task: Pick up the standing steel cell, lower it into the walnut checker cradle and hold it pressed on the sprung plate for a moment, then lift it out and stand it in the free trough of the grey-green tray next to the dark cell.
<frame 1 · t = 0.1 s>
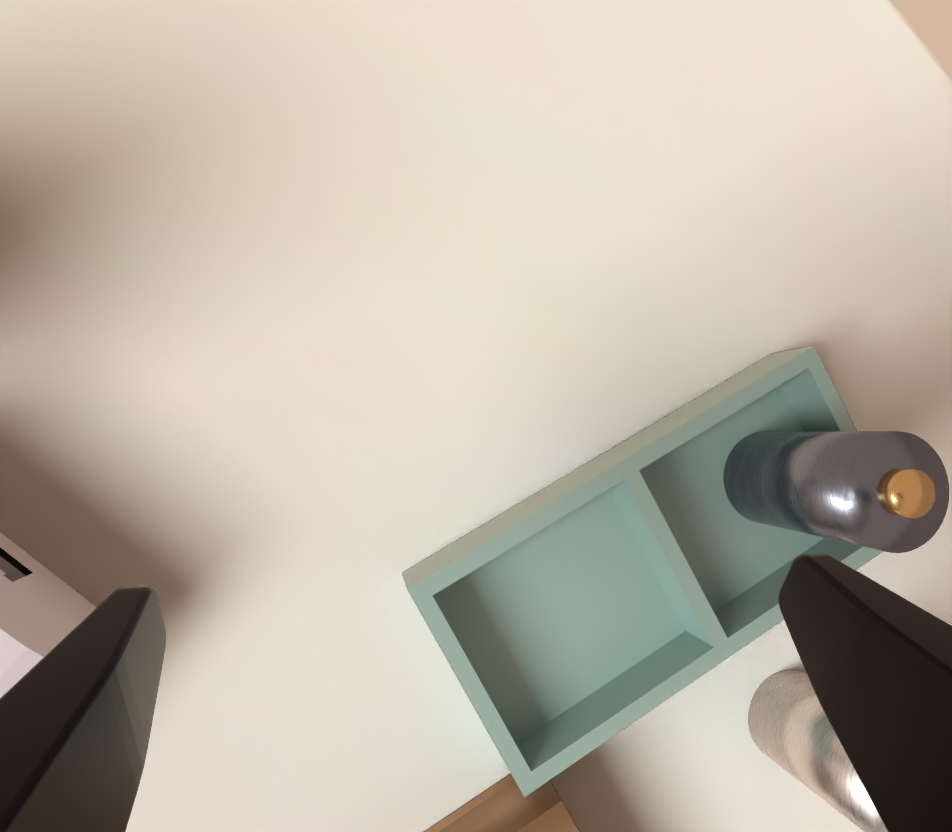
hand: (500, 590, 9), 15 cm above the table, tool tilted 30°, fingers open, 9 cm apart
dark cell: (765, 477, 26), resting on trough tray
trough tray: (645, 547, 25), on the table
steel cell: (788, 715, 26), on the table
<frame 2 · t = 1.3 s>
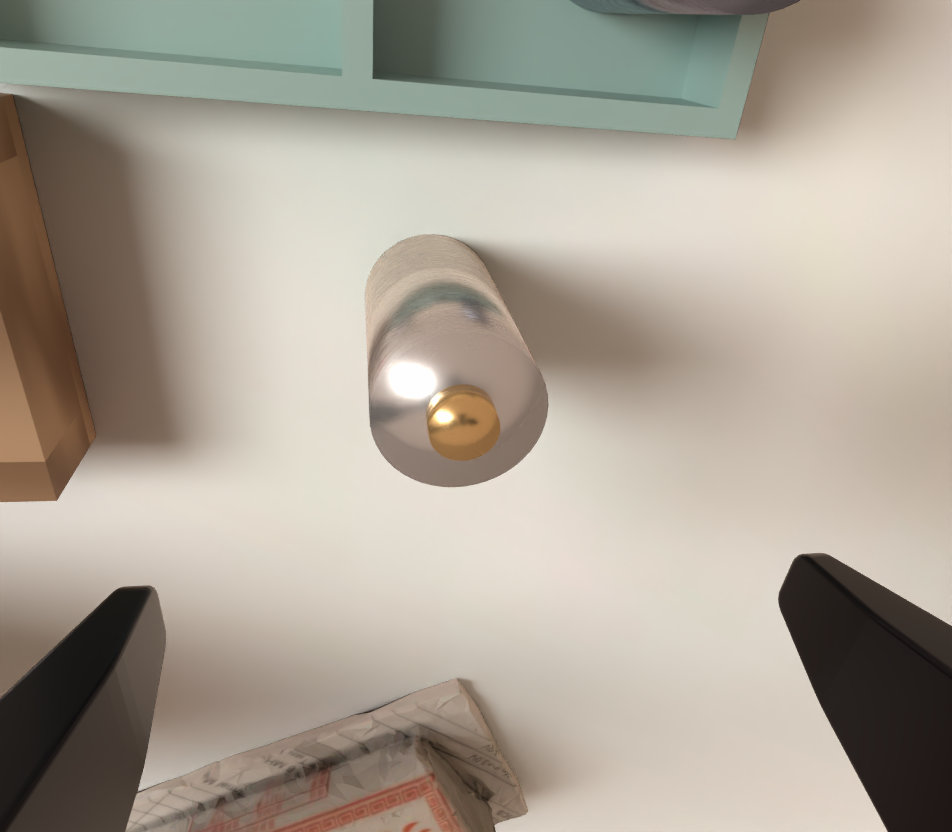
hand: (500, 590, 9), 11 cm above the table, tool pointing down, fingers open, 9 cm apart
steel cell: (429, 298, 19), on the table
packaged product: (313, 786, 31), on the table
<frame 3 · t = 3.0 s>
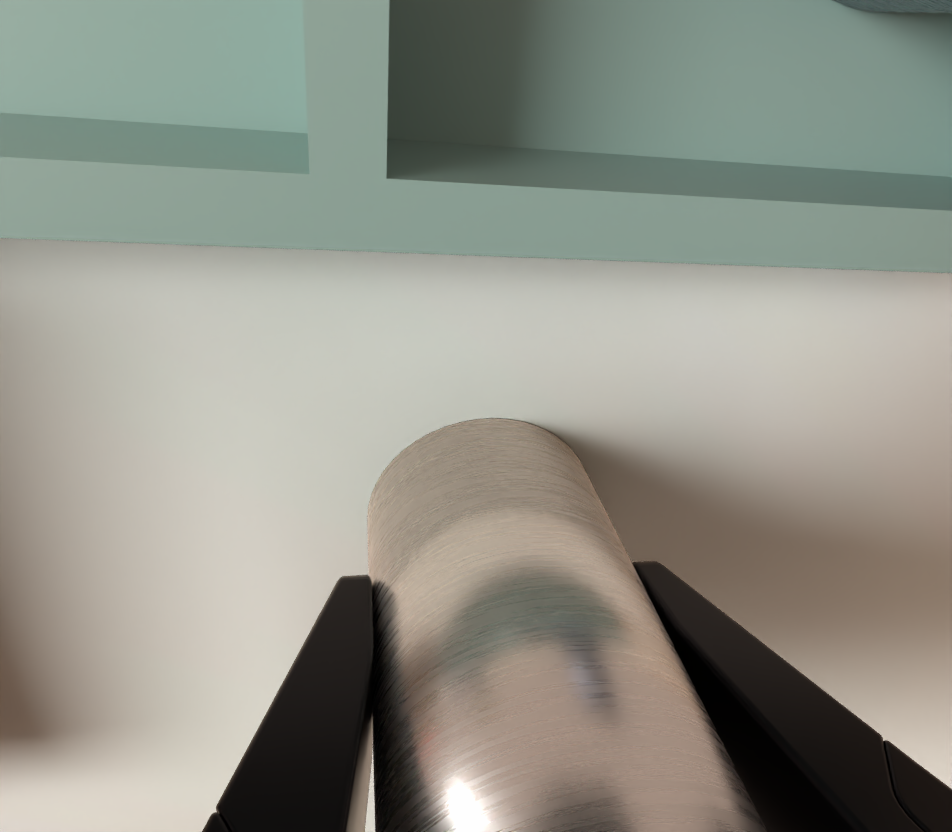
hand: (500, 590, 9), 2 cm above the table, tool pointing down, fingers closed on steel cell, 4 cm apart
steel cell: (480, 514, 11), on the table, touching gripper
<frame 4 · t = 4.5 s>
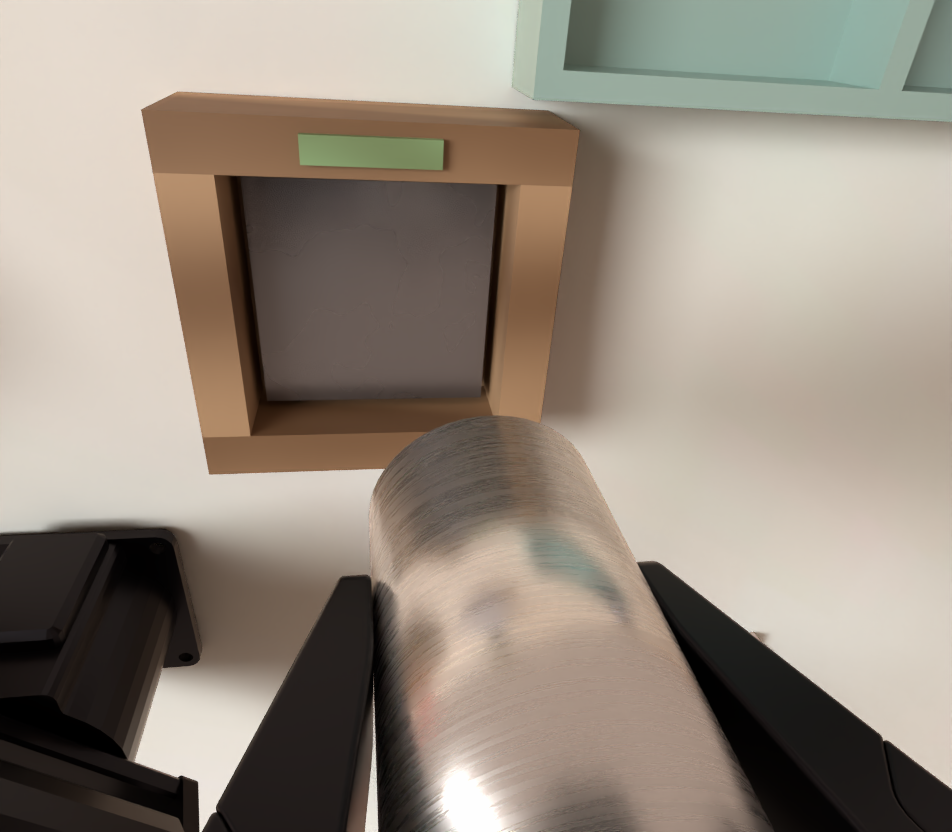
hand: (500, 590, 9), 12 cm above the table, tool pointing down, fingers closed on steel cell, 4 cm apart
checker cradle: (373, 276, 19), on the table
steel cell: (483, 511, 11), point 10 cm above the table, touching gripper
sprung plate: (374, 294, 18), point 1 cm above the table, slide at 0.0 cm
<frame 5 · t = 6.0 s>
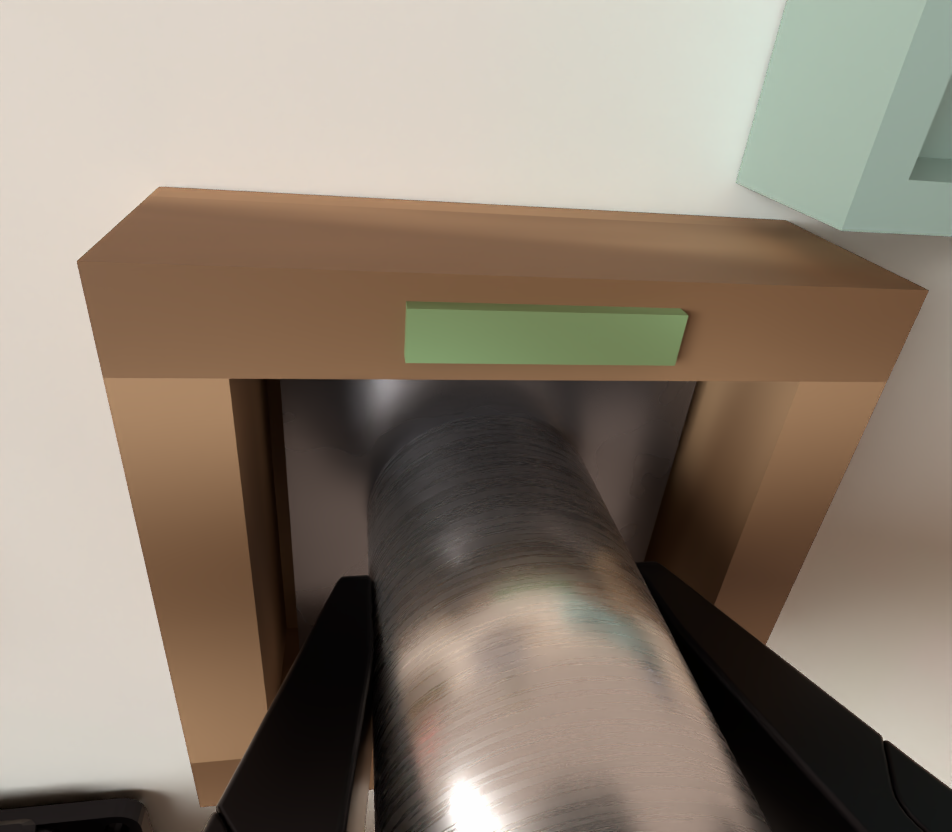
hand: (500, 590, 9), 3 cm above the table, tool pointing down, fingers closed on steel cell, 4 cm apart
checker cradle: (472, 465, 12), on the table
steel cell: (481, 511, 11), point 1 cm above the table, touching gripper, sprung plate
sprung plate: (480, 496, 11), point 1 cm above the table, slide at 0.4 cm, touching checker cradle, steel cell
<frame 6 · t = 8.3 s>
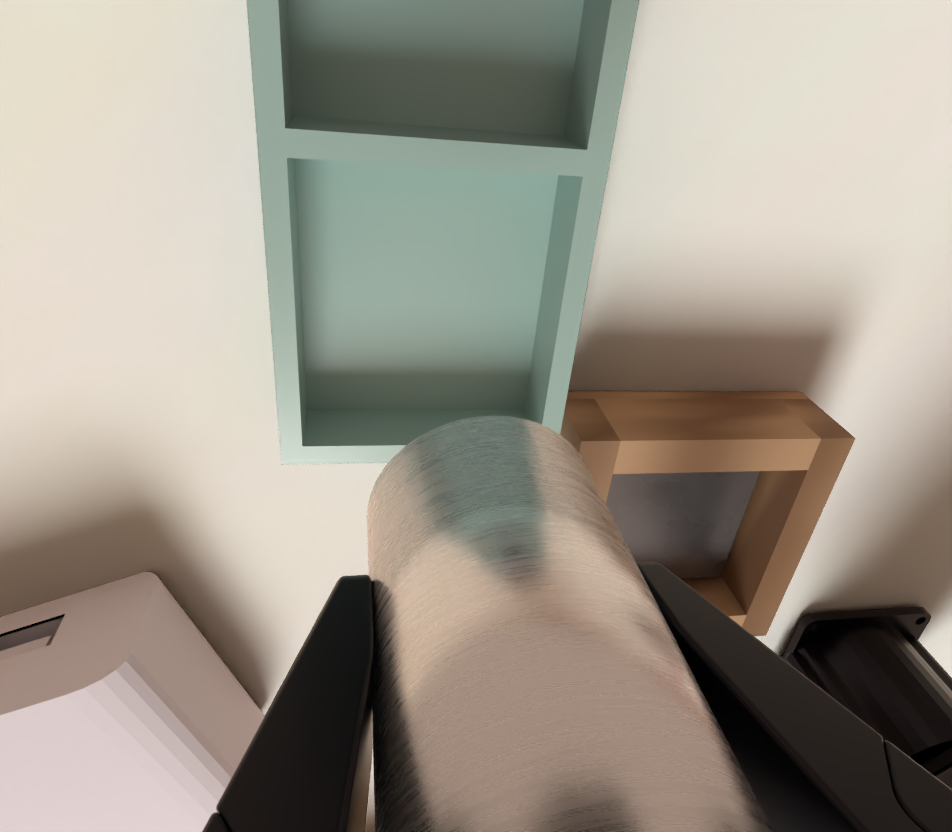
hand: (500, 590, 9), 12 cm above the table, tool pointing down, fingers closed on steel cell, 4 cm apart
charger: (150, 714, 27), on the table
trough tray: (430, 136, 17), on the table
checker cradle: (652, 496, 25), on the table
steel cell: (482, 512, 10), point 10 cm above the table, touching gripper
sprung plate: (662, 511, 24), point 1 cm above the table, slide at 0.4 cm, touching checker cradle
when the fingers open (3 cm above the table, at t = 9.8 s): steel cell drops 1 cm, resting on trough tray.
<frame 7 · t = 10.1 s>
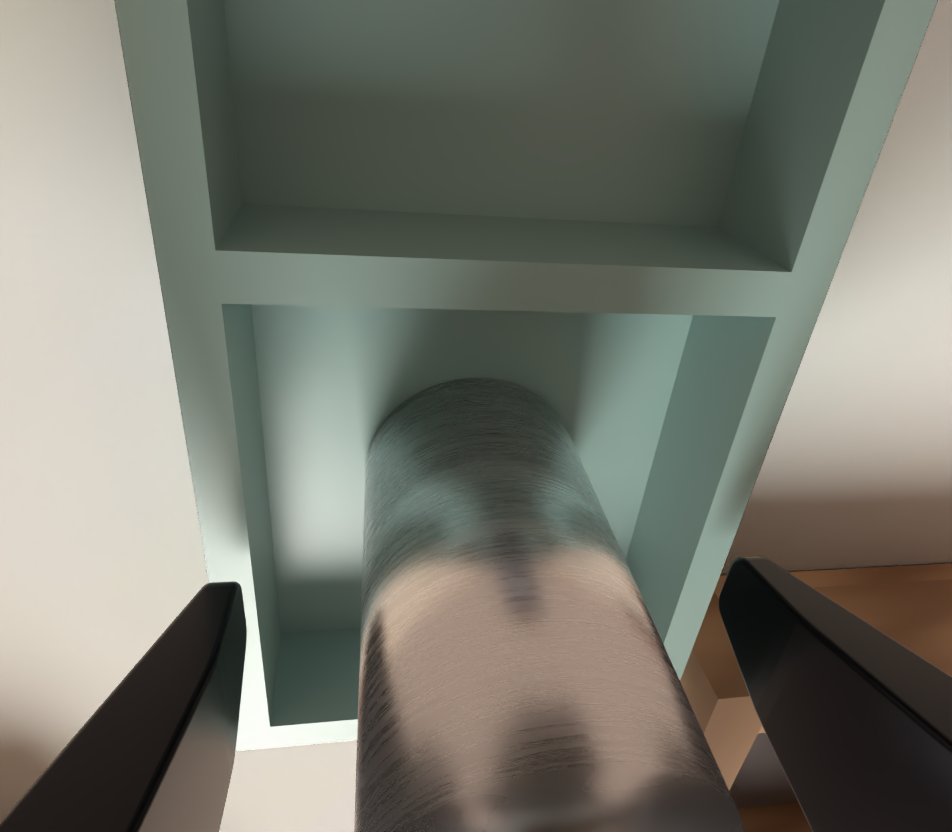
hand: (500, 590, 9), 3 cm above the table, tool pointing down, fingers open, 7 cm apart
trough tray: (487, 227, 10), on the table
checker cradle: (774, 693, 18), on the table
steel cell: (470, 469, 11), point 1 cm above the table, touching trough tray
sprung plate: (793, 724, 17), point 1 cm above the table, slide at 0.4 cm, touching checker cradle
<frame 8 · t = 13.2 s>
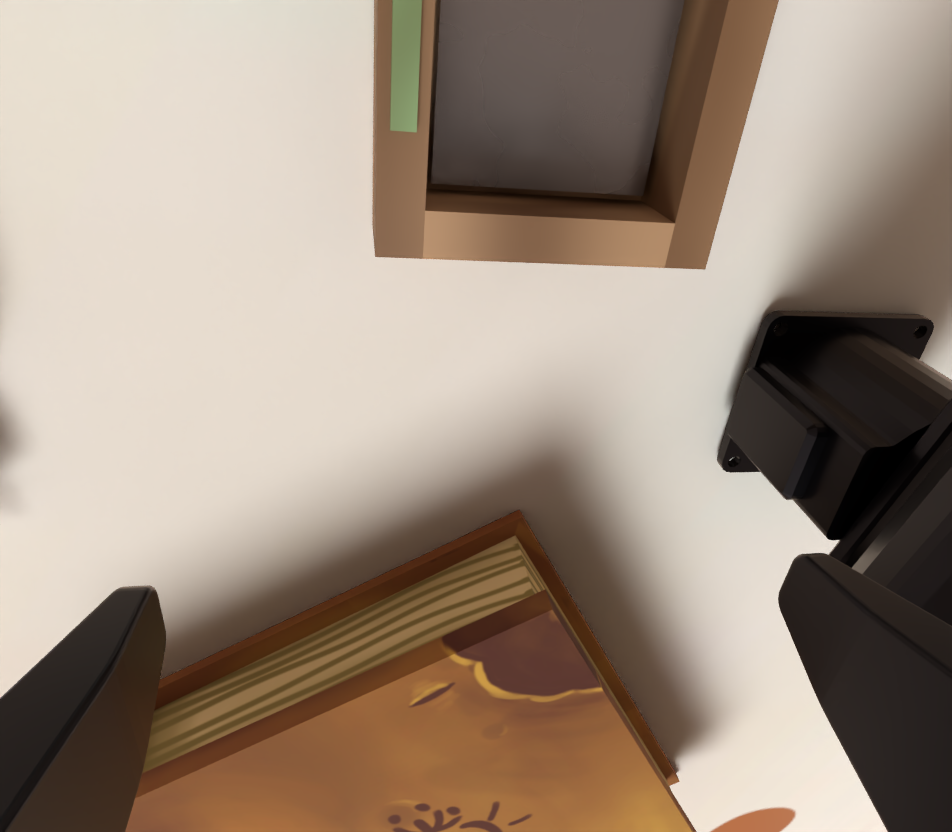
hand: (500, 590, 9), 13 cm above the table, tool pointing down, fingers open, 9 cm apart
checker cradle: (544, 63, 18), on the table
diary: (439, 730, 33), on the table
sprung plate: (552, 65, 17), point 1 cm above the table, slide at 0.4 cm, touching checker cradle
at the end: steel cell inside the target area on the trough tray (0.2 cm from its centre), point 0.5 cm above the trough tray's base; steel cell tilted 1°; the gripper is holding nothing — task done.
